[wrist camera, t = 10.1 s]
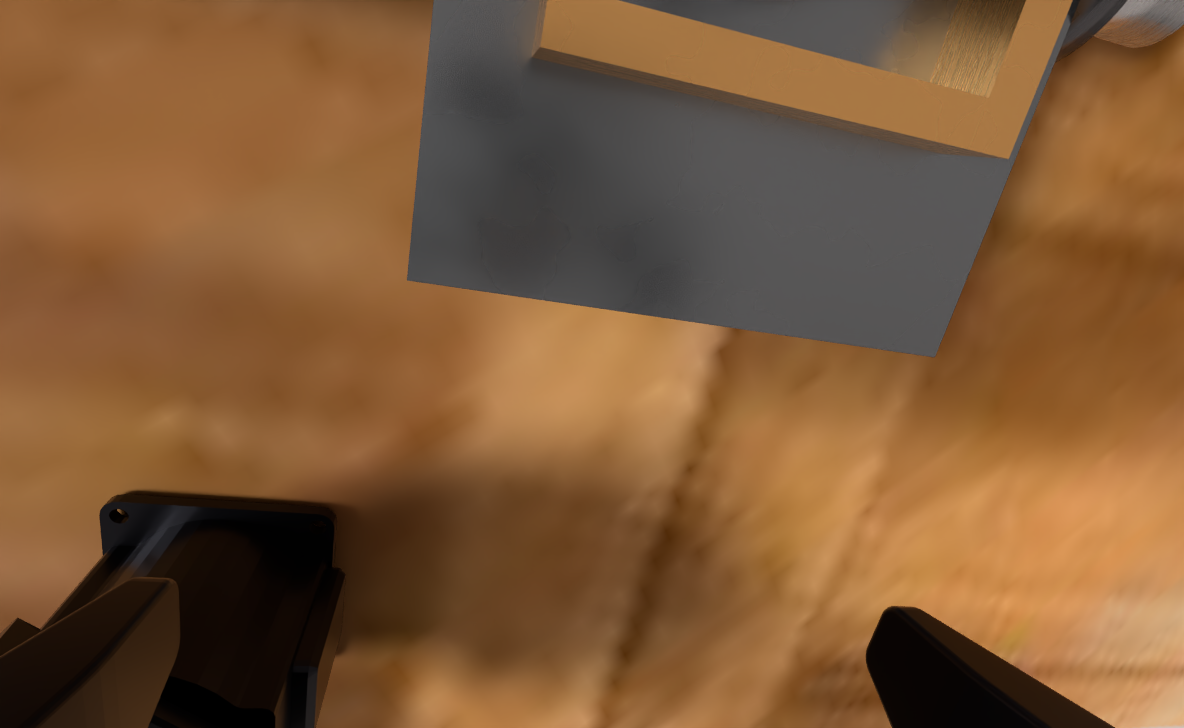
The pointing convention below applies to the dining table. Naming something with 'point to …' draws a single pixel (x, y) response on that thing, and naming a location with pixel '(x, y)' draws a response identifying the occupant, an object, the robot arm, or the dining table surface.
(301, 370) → the dining table surface
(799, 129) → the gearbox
